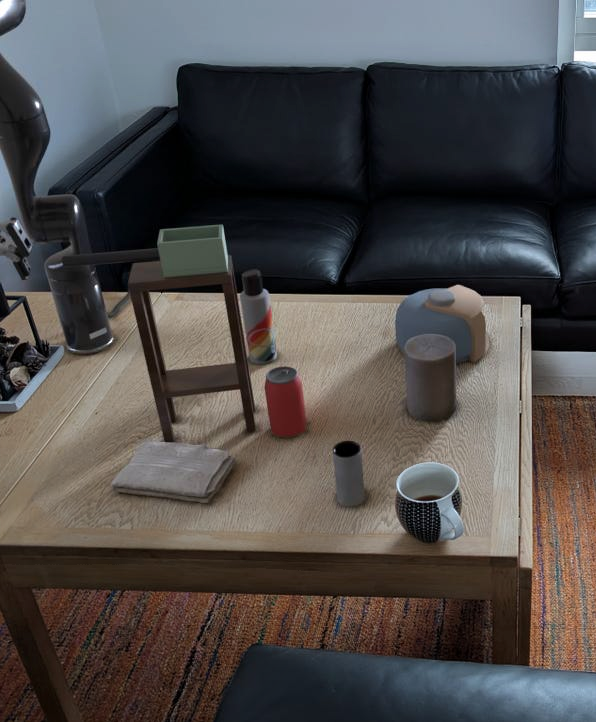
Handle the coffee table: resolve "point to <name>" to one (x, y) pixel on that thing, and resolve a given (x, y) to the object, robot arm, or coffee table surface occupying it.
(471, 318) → the alarm clock
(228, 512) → the coffee table surface
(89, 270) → the robot arm
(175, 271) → the green box scoop
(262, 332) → the lotion bottle
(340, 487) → the grey black cylinder
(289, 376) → the beer can
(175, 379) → the stand
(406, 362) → the pillar candle
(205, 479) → the washcloth
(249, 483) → the coffee table surface
